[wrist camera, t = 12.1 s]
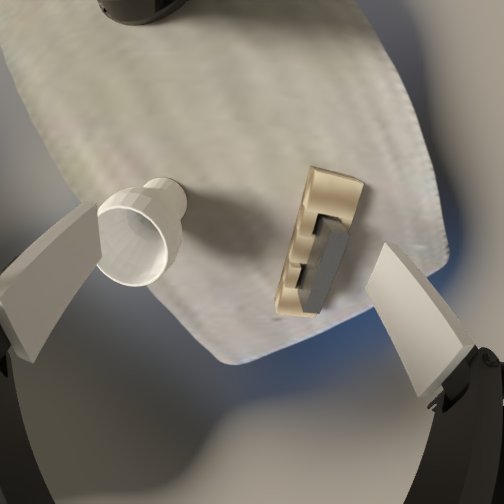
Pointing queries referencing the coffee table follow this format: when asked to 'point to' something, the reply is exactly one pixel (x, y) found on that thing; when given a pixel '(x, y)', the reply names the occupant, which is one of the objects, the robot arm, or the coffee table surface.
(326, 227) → the grey block
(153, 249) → the cup
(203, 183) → the coffee table surface
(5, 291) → the robot arm
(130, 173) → the coffee table surface
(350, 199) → the rail
